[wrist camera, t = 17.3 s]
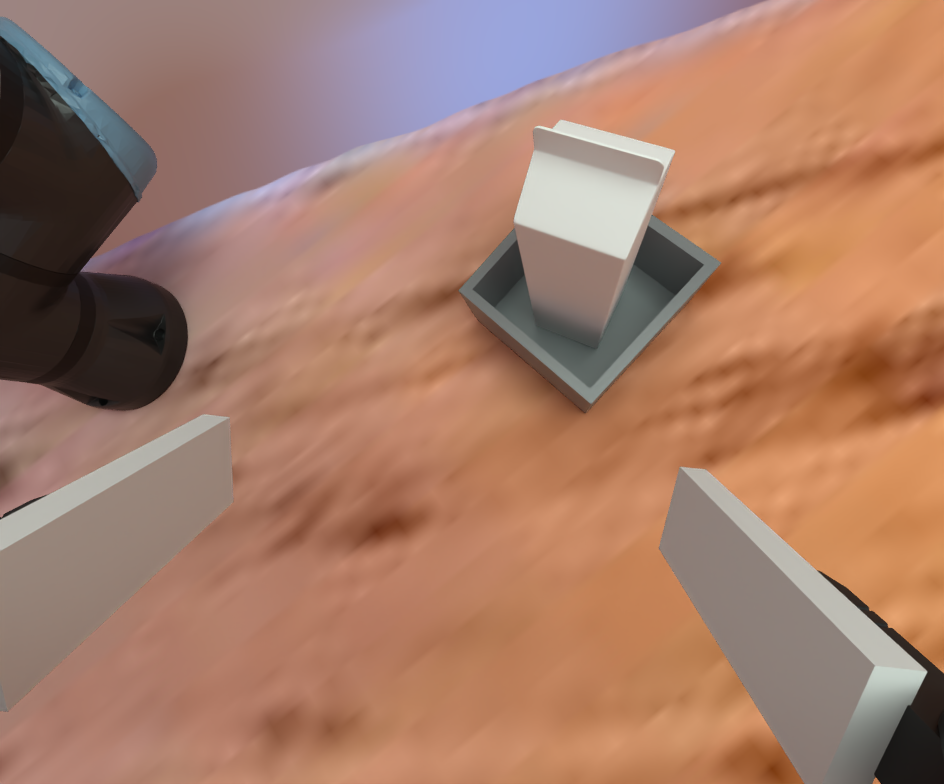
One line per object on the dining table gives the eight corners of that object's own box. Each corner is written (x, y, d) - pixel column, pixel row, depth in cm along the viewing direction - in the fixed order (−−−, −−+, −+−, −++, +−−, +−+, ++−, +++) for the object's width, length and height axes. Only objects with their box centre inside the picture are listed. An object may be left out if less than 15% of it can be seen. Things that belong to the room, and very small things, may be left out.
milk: (596, 349, 39) (637, 232, 18) (534, 325, 41) (502, 188, 19) (624, 288, 39) (698, 98, 18) (561, 265, 41) (559, 65, 19)
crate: (477, 319, 43) (458, 290, 35) (572, 214, 42) (574, 160, 35) (585, 413, 40) (591, 404, 32) (689, 300, 39) (721, 262, 31)
